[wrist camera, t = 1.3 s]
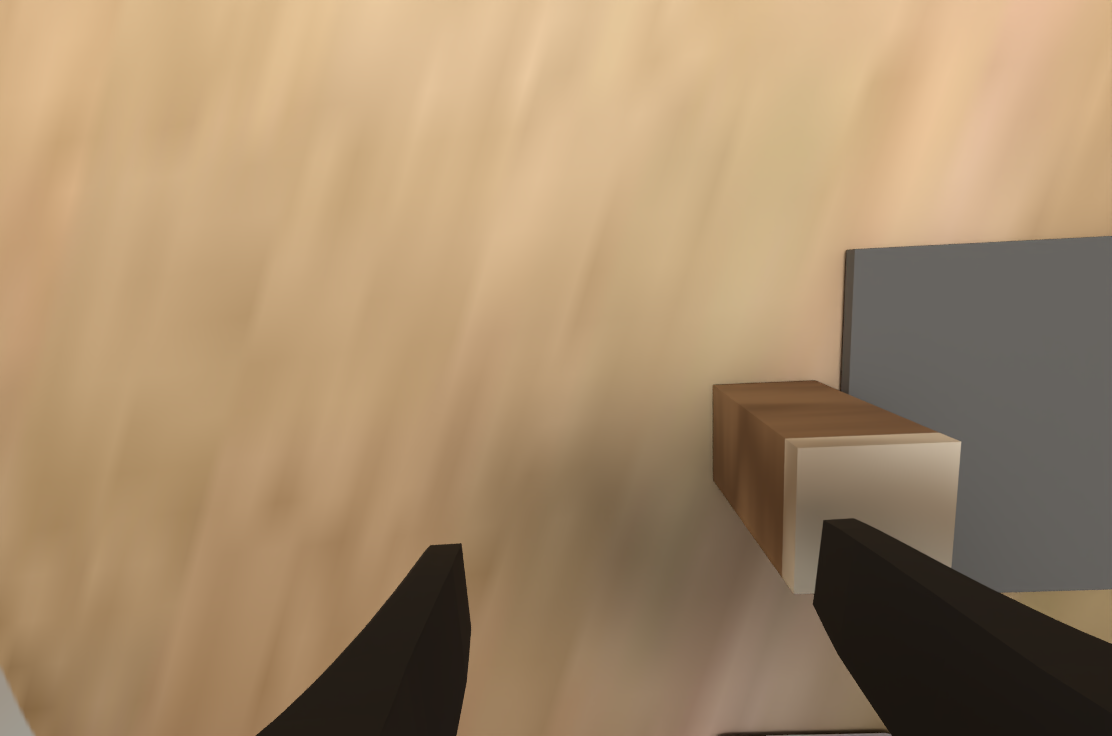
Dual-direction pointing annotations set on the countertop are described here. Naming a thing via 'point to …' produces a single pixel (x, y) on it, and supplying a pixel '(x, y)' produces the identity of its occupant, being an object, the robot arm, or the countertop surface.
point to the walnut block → (829, 471)
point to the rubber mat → (1000, 393)
